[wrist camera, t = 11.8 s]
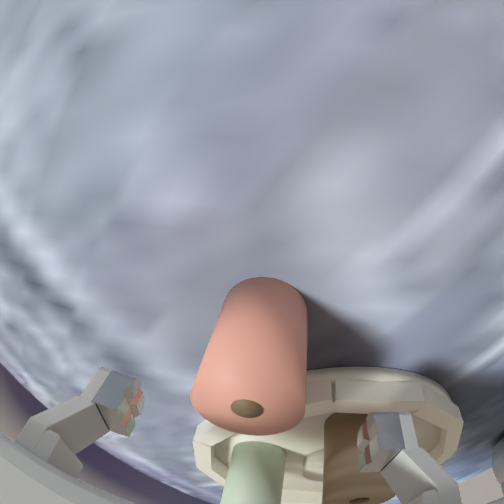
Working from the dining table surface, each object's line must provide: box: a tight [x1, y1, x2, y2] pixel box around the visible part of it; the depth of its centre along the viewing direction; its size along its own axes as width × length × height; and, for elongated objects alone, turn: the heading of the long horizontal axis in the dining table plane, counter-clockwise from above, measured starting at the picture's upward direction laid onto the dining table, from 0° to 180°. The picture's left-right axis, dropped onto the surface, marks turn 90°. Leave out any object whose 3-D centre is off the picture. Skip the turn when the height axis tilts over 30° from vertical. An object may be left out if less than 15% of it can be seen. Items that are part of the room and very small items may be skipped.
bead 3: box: [322, 412, 396, 504], centre depth 12 cm, size 4×4×5 cm
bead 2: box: [220, 441, 286, 504], centre depth 15 cm, size 4×4×5 cm
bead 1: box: [190, 277, 307, 436], centre depth 11 cm, size 4×4×5 cm
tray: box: [193, 366, 464, 504], centre depth 17 cm, size 18×18×2 cm
